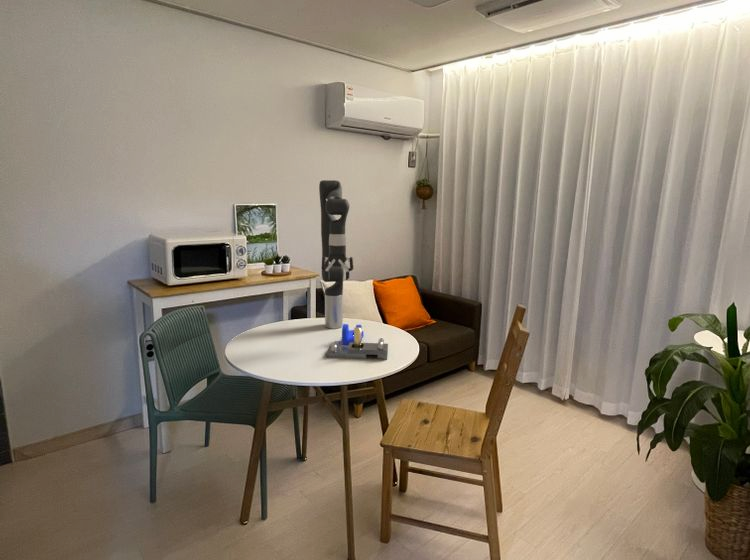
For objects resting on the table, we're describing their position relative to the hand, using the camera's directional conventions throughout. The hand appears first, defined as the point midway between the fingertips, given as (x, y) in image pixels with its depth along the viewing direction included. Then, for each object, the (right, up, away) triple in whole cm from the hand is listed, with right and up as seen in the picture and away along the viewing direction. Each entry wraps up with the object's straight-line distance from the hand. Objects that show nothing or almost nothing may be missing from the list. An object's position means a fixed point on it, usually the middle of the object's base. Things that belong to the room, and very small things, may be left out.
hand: (337, 279), depth 201 cm
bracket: (+7, -29, +11) cm, 32 cm away
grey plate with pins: (+10, -33, -10) cm, 35 cm away
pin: (+10, -33, -10) cm, 35 cm away
